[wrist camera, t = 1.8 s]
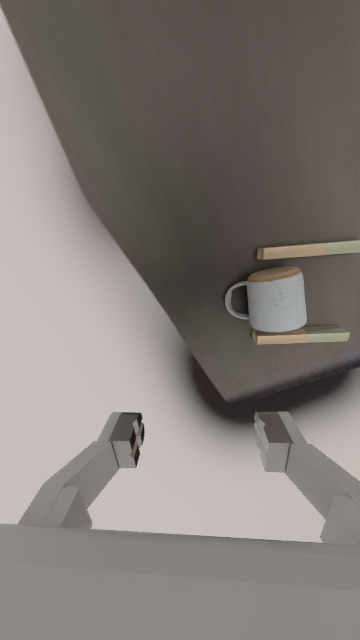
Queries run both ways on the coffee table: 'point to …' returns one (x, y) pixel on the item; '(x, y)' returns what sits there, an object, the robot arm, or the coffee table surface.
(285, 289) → the ceramic mug
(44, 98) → the coffee table surface
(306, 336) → the channel walls
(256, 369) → the coffee table surface
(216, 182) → the coffee table surface
